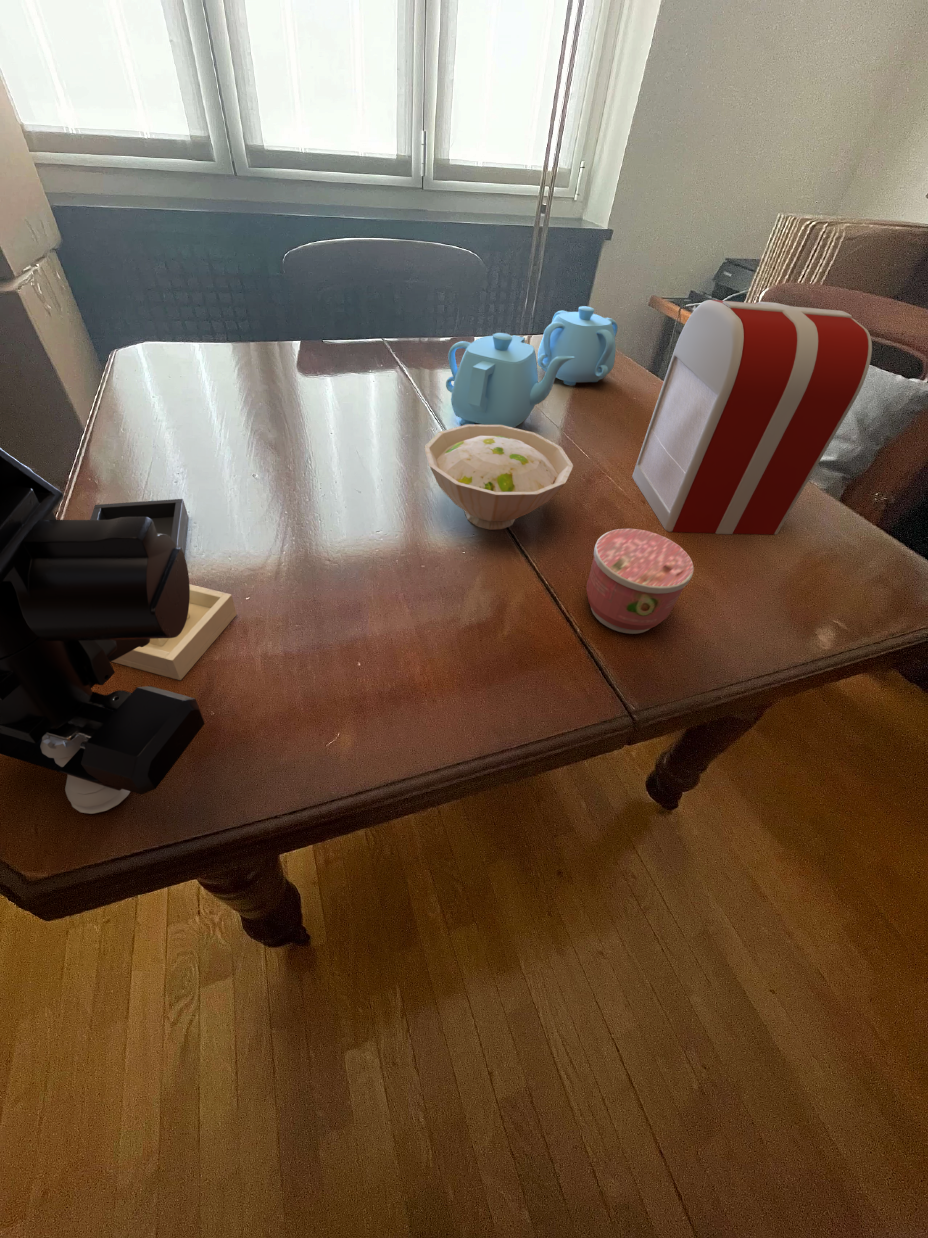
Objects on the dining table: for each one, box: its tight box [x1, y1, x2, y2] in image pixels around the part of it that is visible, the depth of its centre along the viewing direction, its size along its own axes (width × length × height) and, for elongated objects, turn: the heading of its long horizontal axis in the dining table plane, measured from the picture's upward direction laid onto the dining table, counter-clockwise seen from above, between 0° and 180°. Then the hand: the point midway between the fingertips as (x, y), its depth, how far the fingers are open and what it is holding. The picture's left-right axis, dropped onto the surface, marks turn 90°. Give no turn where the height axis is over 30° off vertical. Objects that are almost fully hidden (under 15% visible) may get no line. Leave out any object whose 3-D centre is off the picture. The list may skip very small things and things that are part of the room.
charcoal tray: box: [89, 498, 190, 557], centre depth 63 cm, size 11×10×3 cm
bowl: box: [424, 424, 574, 531], centre depth 73 cm, size 19×19×10 cm
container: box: [585, 528, 695, 635], centre depth 61 cm, size 10×10×8 cm
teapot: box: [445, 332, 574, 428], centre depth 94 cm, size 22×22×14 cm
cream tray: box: [110, 583, 238, 681], centre depth 54 cm, size 12×10×3 cm
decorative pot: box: [536, 305, 619, 386], centre depth 115 cm, size 16×16×14 cm
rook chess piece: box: [40, 734, 131, 815], centre depth 40 cm, size 4×4×8 cm
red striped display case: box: [631, 299, 873, 536], centre depth 75 cm, size 16×18×27 cm
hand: (95, 776), depth 41 cm, fingers open, 4 cm apart
